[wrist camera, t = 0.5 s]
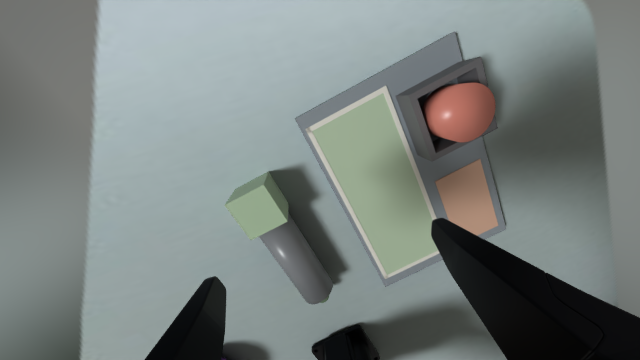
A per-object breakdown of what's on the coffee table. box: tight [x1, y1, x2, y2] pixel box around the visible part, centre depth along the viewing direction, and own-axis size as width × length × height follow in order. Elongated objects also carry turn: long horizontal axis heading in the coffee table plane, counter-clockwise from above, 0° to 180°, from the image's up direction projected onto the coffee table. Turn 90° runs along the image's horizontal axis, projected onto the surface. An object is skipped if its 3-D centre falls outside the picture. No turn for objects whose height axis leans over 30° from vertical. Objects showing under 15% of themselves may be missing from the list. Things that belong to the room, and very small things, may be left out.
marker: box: [225, 172, 333, 304], centre depth 22 cm, size 14×3×3 cm, turn 27°
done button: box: [422, 83, 495, 142], centre depth 18 cm, size 4×4×3 cm
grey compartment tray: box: [295, 32, 506, 287], centre depth 21 cm, size 20×14×3 cm
